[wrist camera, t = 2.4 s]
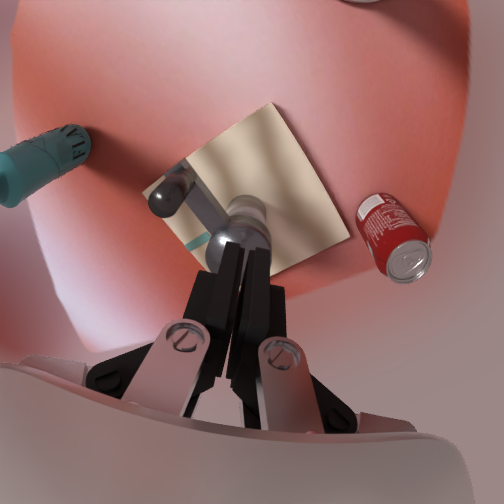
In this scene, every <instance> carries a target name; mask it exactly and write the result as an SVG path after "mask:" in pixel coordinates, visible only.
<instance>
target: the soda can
mask: <svg viewBox="0 0 504 504" xmlns="http://www.w3.org/2000/svg"><path fill="white" fill-rule="evenodd" d="M355 219H356V225H357V227H358V229H359V231H360V233H361V235H362V237H363V239H364V241H365V243H366V245H367V247H368V249H369V251H370V253H371V255H372V257H373V259H374V261H375V263H376V265H377V267H378V269H379V270H380V272H381V273H382V274H383V275H385V276H386V277H388V278H390V279H391V280H392V281H393V282H395V283H398V284H409V283H412V282H414V281H416V280H418V279H419V278H421V277H422V276H423V275H424V274H425V273H426V272H427V270H428V268H429V267H430V264H431V261H432V252H431V249H430V241H429V238H428V236H427V234H426V233H425V232H424V230H423V229H422V228H421V227H420V226H419V225H418V223H417V222H416V221H415V220H414V219H413V218H412V217H411V215H410V214H409V213H408V212H407V211H406V210H405V209H404V208H403V207H402V205H401V204H400V203H399V202H398V201H397V200H396V199H395V198H394V197H393V196H391V195H389V194H386V193H375V194H372V195H370V196H368V197H367V198H365V199H364V200H363V201H362V202H361V204H360V205H359V207H358V209H357V212H356V218H355Z"/></svg>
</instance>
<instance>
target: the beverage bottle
mask: <svg viewBox="0 0 504 504" xmlns="http://www.w3.org/2000/svg"><path fill="white" fill-rule="evenodd" d="M44 133H45V132H44ZM29 139H30V138H29ZM22 142H23V143H22ZM22 142H21V143H19V144H16V146H14V147H12V148H10V149H8V150H6V151H4V152H0V204H1V205H3V206H5V207H7V208H13V207H15V206H17V205H18V204H19V203H20V202H21V201H23V200H24V199H26V198H27V197H28V196H30V195H31V194H33V193H34V192H36V191H37V190H39V189H40V188H42V187H43V186H45V185H46V184H48V183H50V182H51V181H53V180H55V179H57V178H58V177H60V176H61V177H62V176H63V175H65V173H67V172H69V171H70V170H73V169H74V168H75V169H76V167H78V166H79V165H81V164H82V163H83V164H84V161H85V160H86V159H87V157H88V156H89V153H90V149H91V141H90V137H89V135H88V133H87V131H86V130H85V129H84V128H83V127H81V126H79V125H74V124H70V125H68V124H67V125H66V126H65V125H64V127H62V126H61V128H60V127H58V128H55V129H53V130H51V131H48V133H47V132H46V133H45V134H42V135H41V134H40V135H39V136H37V137H35V136H34V137H33V138H32V139H30V140H24V141H22ZM83 164H82V165H83ZM67 174H68V173H67Z"/></svg>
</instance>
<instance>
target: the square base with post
mask: <svg viewBox="0 0 504 504" xmlns="http://www.w3.org/2000/svg"><path fill="white" fill-rule="evenodd" d="M186 160H187V161H188V162H189V163H190V165H191V166H192V167H193V169H194V170H195V171H196V173H197V174H198V175H199V177H200V178H201V179H202V181H203V182H204V183H205V185H206V186H207V187H208V189H209V190H210V191H211V193H212V194H213V195H214V197H215V198H216V199H217V201H218V202H219V203H220V205H221V206H222V207H223V208H224V210H225V211H226V212H227V214H228V215H229V216H232V215H248V216H252V217H254V218H256V219H258V220H260V221H261V222H262V223H263V224H264V225H265V226H266V227H267V228H268V230H269V232H270V234H271V238H272V264H271V267H270V276H272V275H274V274H276V273H278V272H280V271H282V270H284V269H286V268H288V267H290V266H292V265H294V264H296V263H299V262H301V261H303V260H305V259H307V258H309V257H311V256H313V255H315V254H317V253H319V252H321V251H323V250H325V249H327V248H329V247H331V246H333V245H335V244H337V243H339V242H341V241H343V240H345V239H347V238H349V237H350V235H349V233H348V231H347V229H346V227H345V225H344V223H343V221H342V219H341V217H340V215H339V213H338V211H337V209H336V208H335V206H334V204H333V202H332V200H331V198H330V197H329V195H328V193H327V191H326V189H325V188H324V186H323V184H322V182H321V181H320V179H319V177H318V175H317V174H316V172H315V170H314V168H313V167H312V165H311V163H310V162H309V160H308V158H307V157H306V155H305V153H304V152H303V150H302V148H301V147H300V145H299V144H298V142H297V140H296V139H295V137H294V135H293V134H292V132H291V131H290V129H289V128H288V126H287V125H286V123H285V121H284V120H283V118H282V117H281V115H280V114H279V112H278V111H277V109H276V108H275V106H274V105H273V103H272V102H271V103H269V104H267V105H266V106H264V107H262V108H261V109H259V110H257V111H256V112H254V113H252V114H251V115H249V116H247V117H246V118H244V119H243V120H241V121H240V122H238V123H236V124H235V125H233V126H232V127H230V128H229V129H227V130H226V131H224V132H223V133H221V134H220V135H218V136H217V137H215V138H214V139H212V140H211V141H209V142H208V143H206V144H205V145H204V146H202V147H201V148H199V149H198V150H196V151H195V152H194V153H192V154H191V155H190V156H188V157H187V158H186ZM165 178H166V177H165V176H164V175H163V176H162V177H160V178H159V179H158V180H156V181H155V182H154V183H153V184H151V185H150V186H149V187H148V188H146V189H145V190H144V191H143V192H142V194H143V195H144V196H145V198H146V199H147V200H148V198H149V195H150V194H151V192H152V191H153V190H154V189H155V188H156V187H157V186H158V185H159V184H160V183H161V182H162V181H163V180H164V179H165ZM162 219H163V220H164V221H165V222H166V223H167V225H168V226H169V227H170V228H171V229H172V231H173V232H174V233H175V234H176V235H177V237H178V238H179V239H180V240H181V241H182V242H183V244H184V246H185V247H186V248H187V249H188V250H189V252H191V253H192V254H193V255H194V257H195V258H196V259H197V260H198V261H199V262H200V263H201V265H202V266H203V267H204V268H205V269H206V270H207V272H211V271H210V270H209V268H208V266H207V264H206V260H205V252H206V248H207V245H208V242H209V240H210V237H211V234H210V233H209V232H208V231H207V229H206V228H205V227H204V226H203V224H202V223H201V222H200V220H199V219H198V218H197V217H196V215H195V214H194V213H193V212H192V210H191V209H190V208H189V207H188V205H187V204H186V203H185V202H183V203H182V205H181V206H180V207H179V209H178V210H177V212H176V213H175V214H174V215H173V216H172V217H169V218H162ZM240 288H241V286H240ZM240 288H239V291H240Z"/></svg>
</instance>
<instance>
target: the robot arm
mask: <svg viewBox="0 0 504 504" xmlns="http://www.w3.org/2000/svg"><path fill="white" fill-rule="evenodd" d="M344 1H349V2H353V3H373V2H378V1H381V0H344ZM244 254H245V248H241V247H240V243H235V242H230V241H226V244H225V248H224V251H223V255H222V259H221V263H220V267H219V270H218V274H216V273H211V272H207V271H202V270H199V272H198V274H197V277H196V280H195V283H194V286H193V289H192V291H191V294H190V297H189V300H188V303H187V306H186V309H185V312H184V315H183V318H182V319H177V320H173V321H171V322H169V323H167V324H166V325H165V326H164V327H163V329H162V330H161V332H160V334H159V335H158V337H157V339H156V340H155V342H153V343H150V344H148V345H145V346H143V347H140V348H137V349H135V350H133V351H130V352H127V353H125V354H122V355H119V356H117V357H115V358H112V359H109V360H106V361H104V362H101V363H99V364H97V365H95V366H93V367H91V366H87V365H86V363H83V362H76V361H70V360H63V359H58V358H52V357H47V356H42V355H29V356H27V357H25V358H24V359H23V360H22V361H21V362H20V364H14V363H0V504H475V500H474V495H473V490H472V484H471V479H470V475H469V472H468V468H467V465H466V462H465V460H464V457H463V455H462V453H461V451H460V450H459V448H458V447H457V446H456V445H455V444H454V443H452V442H450V441H448V440H447V439H444V438H442V437H439V436H435V435H432V434H427V433H419V432H417V430H416V429H415V427H414V426H413V425H412V424H411V423H410V422H407V421H404V420H398V419H393V418H388V417H382V416H378V415H373V414H368V413H364V412H360V413H359V414H355V413H354V412H353V411H352V410H351V409H350V408H349V407H348V406H347V405H346V404H345V403H344V402H342V401H341V400H340V399H339V398H338V397H337V396H335V395H334V394H333V393H332V392H331V391H330V390H328V389H327V388H326V387H325V386H324V385H323V384H322V383H321V382H319V381H318V380H317V379H316V378H315V377H314V376H313V375H311V374H310V372H309V368H308V364H307V360H306V357H305V354H304V351H303V349H302V348H301V347H300V346H299V345H298V344H297V343H296V342H294V341H293V340H291V339H288V338H287V333H286V309H285V290H284V287H281V286H276V285H271V284H270V250H269V249H264V248H260V247H256V248H255V250H249V254H248V258H247V262H246V266H245V271H244V275H243V279H242V283H241V288H240V281H241V274H242V267H243V261H244ZM239 288H240V292H239ZM238 295H239V296H238ZM232 330H233V331H232ZM231 334H232V338H231ZM230 338H231V345H230V352H229V359H228V366H227V373H226V378H227V379H231V386H230V387H231V388H233V389H232V390H233V391H234V392H235V393H236V394H237V396H239V398H240V400H239V409H240V421H241V427H235V426H228V425H222V424H216V423H210V422H205V421H200V420H195V419H193V416H194V413H195V411H196V408H197V406H198V403H199V401H200V398H201V395H202V392H204V391H206V390H208V389H210V388H212V387H213V386H214V381H215V377H221V375H222V371H223V367H224V363H225V359H226V355H227V351H228V347H229V343H230Z"/></svg>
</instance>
